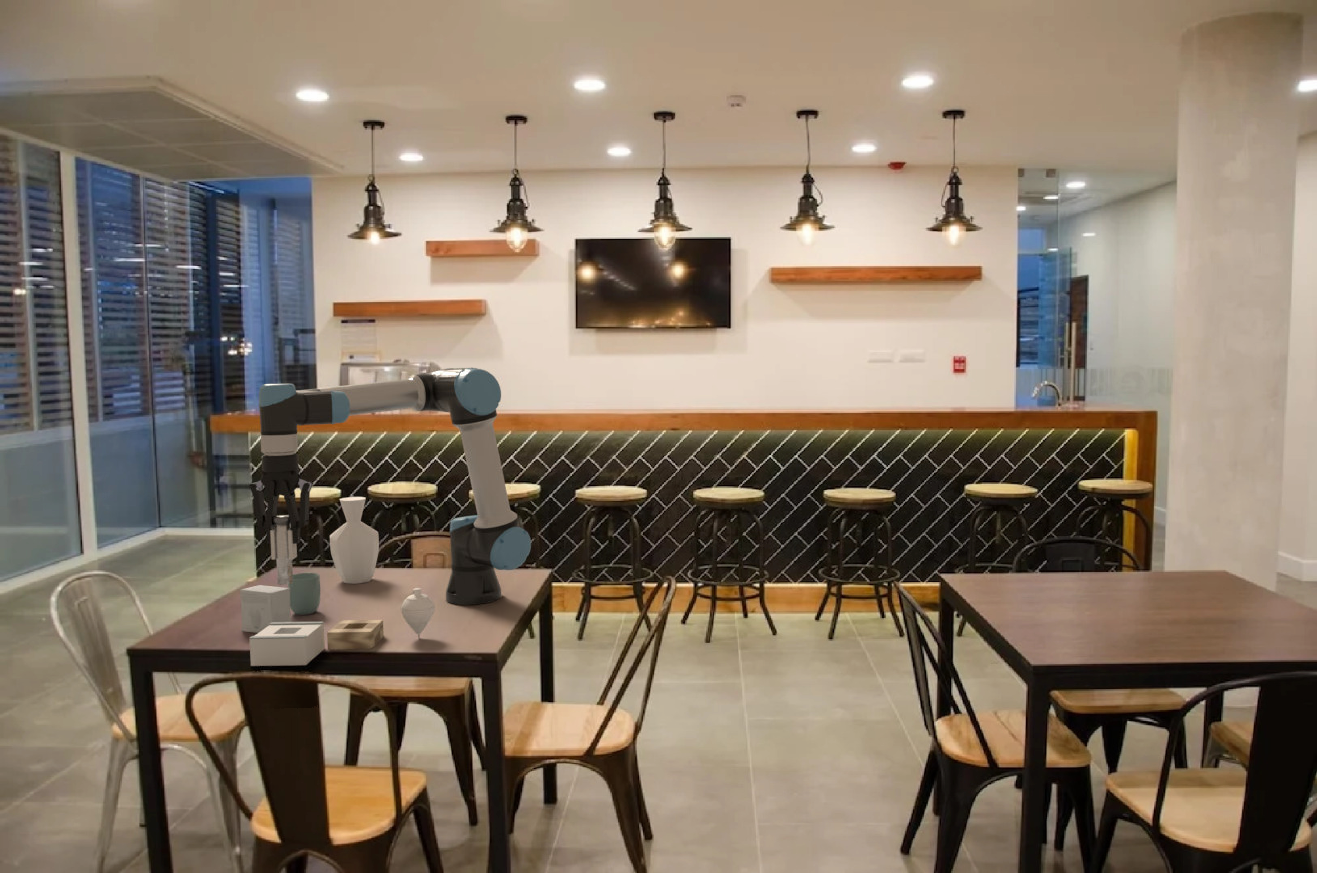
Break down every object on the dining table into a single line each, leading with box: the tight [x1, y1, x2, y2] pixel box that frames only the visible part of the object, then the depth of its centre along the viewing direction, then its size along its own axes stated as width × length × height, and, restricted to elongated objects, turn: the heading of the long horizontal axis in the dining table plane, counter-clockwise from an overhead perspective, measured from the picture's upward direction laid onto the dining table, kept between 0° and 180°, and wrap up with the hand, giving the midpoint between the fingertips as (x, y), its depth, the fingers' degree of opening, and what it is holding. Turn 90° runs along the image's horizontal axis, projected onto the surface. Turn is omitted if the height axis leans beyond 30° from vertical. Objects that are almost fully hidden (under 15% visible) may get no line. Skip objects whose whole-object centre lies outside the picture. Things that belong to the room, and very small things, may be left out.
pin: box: [273, 514, 294, 585], centre depth 210 cm, size 4×4×15 cm
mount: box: [326, 619, 385, 650], centre depth 222 cm, size 10×10×4 cm
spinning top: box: [400, 587, 435, 639], centre depth 225 cm, size 8×8×12 cm
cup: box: [287, 572, 321, 616], centre depth 248 cm, size 8×8×10 cm
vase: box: [329, 496, 380, 585], centre depth 284 cm, size 14×14×25 cm
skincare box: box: [239, 584, 292, 634], centre depth 233 cm, size 10×6×10 cm, turn 66°
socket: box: [249, 621, 326, 667], centre depth 212 cm, size 12×12×6 cm
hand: (284, 557), depth 210 cm, fingers closed on pin, 3 cm apart
